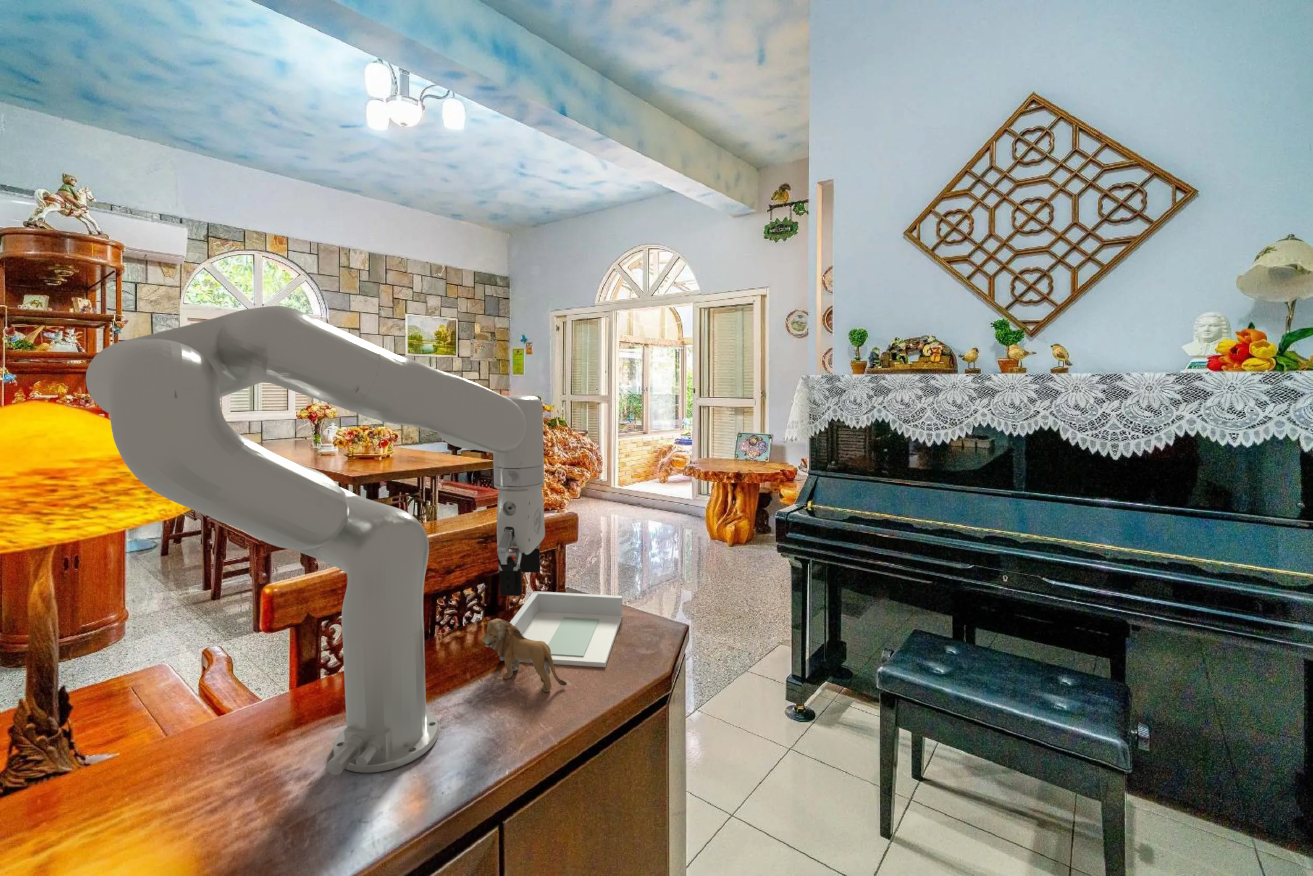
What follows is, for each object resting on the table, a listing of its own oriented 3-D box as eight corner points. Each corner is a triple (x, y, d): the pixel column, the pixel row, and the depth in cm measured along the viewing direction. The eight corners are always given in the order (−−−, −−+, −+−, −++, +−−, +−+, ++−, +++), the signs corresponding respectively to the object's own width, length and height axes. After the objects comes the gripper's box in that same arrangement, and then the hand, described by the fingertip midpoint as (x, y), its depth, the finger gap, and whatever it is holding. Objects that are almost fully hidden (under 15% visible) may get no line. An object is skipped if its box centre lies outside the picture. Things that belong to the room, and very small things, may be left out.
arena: (605, 667, 99) (605, 641, 99) (499, 660, 101) (499, 635, 100) (622, 617, 119) (622, 595, 118) (534, 612, 120) (533, 591, 120)
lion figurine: (477, 677, 95) (476, 623, 94) (497, 662, 100) (496, 611, 99) (558, 696, 90) (558, 640, 89) (575, 679, 95) (575, 625, 94)
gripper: (525, 488, 83) (528, 606, 85) (557, 466, 100) (558, 565, 102) (473, 487, 83) (477, 604, 85) (513, 465, 100) (515, 563, 103)
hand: (521, 582), depth 94 cm, fingers open, 9 cm apart
